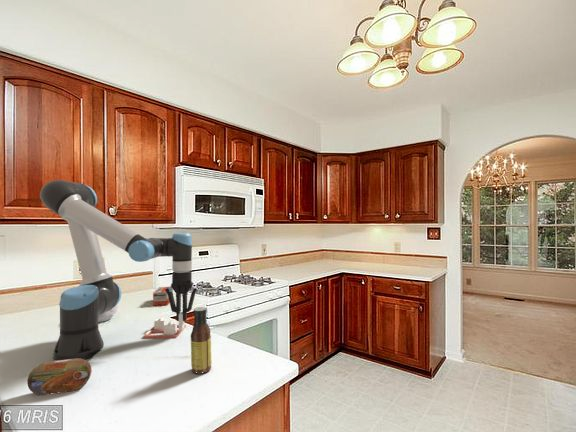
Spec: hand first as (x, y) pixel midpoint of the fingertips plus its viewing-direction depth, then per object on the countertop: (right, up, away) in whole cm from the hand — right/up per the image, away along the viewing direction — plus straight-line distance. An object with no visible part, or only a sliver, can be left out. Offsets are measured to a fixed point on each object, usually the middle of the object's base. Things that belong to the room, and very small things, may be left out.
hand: (181, 328), depth 129 cm
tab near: (-4, -2, 0) cm, 5 cm away
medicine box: (-29, -5, +55) cm, 63 cm away
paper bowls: (-47, -4, +23) cm, 53 cm away
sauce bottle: (+16, -4, -28) cm, 32 cm away
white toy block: (-11, -3, +6) cm, 12 cm away
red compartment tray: (-8, -4, +3) cm, 9 cm away
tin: (-21, -4, -39) cm, 45 cm away
